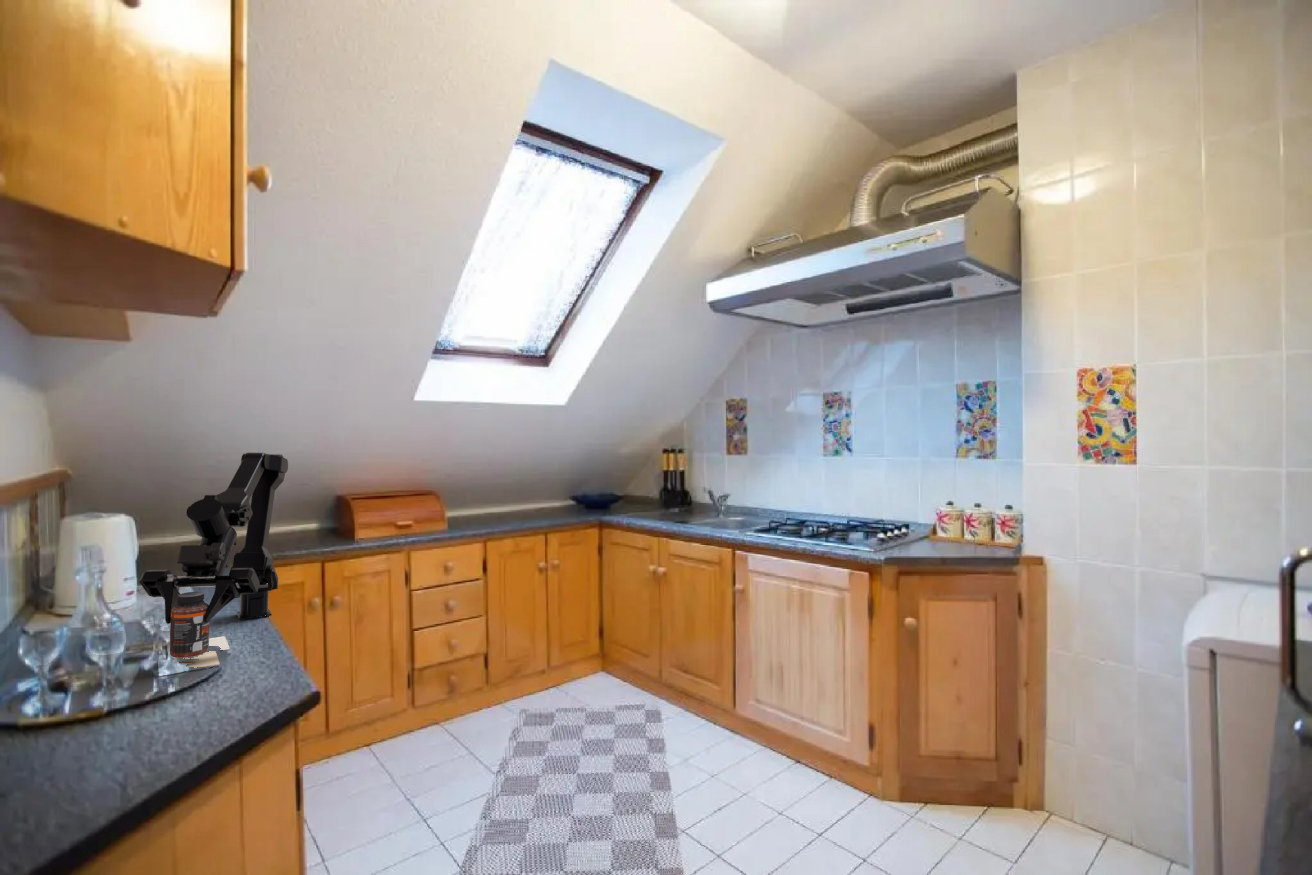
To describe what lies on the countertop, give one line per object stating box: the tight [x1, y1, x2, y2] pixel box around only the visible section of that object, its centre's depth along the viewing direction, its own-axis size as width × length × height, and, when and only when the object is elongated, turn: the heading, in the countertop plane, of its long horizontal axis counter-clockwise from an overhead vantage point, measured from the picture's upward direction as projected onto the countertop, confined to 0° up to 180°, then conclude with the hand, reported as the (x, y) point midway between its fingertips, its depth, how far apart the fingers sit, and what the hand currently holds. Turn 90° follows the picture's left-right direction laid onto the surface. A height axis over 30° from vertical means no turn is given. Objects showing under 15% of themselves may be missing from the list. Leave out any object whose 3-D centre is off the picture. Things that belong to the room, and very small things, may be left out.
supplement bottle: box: [169, 591, 211, 658], centre depth 119 cm, size 6×6×11 cm
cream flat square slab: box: [209, 635, 231, 651], centre depth 128 cm, size 10×10×1 cm
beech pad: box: [179, 651, 221, 668], centre depth 118 cm, size 9×9×1 cm
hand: (186, 621), depth 117 cm, fingers closed on supplement bottle, 6 cm apart
